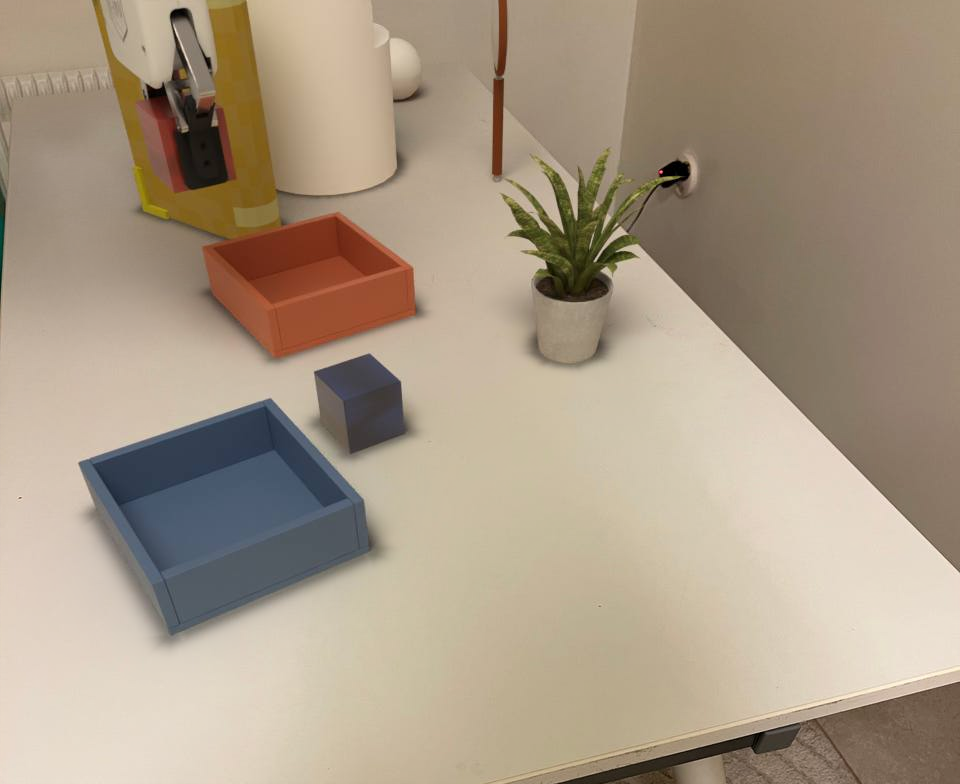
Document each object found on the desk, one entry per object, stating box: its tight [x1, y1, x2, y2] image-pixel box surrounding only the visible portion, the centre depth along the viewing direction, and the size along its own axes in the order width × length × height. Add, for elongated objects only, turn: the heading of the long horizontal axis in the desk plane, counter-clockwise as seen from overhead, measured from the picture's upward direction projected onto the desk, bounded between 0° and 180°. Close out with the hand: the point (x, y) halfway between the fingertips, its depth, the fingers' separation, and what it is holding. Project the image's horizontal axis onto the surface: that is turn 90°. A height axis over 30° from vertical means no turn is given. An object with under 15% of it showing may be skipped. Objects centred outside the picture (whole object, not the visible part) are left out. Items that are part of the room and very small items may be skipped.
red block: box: [135, 91, 237, 194], centre depth 68 cm, size 5×5×5 cm
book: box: [91, 0, 282, 240], centre depth 91 cm, size 17×7×25 cm, turn 55°
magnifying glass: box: [490, 0, 509, 183], centre depth 100 cm, size 9×2×20 cm, turn 3°
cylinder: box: [247, 0, 398, 196], centre depth 100 cm, size 17×17×28 cm
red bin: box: [201, 211, 417, 360], centre depth 85 cm, size 15×15×5 cm
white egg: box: [389, 37, 423, 101], centre depth 125 cm, size 10×7×7 cm
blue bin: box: [77, 397, 371, 636], centre depth 63 cm, size 15×15×5 cm
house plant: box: [499, 147, 686, 364], centre depth 76 cm, size 14×14×16 cm
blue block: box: [313, 352, 406, 455], centre depth 71 cm, size 5×5×5 cm
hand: (193, 170), depth 69 cm, fingers closed on red block, 5 cm apart
